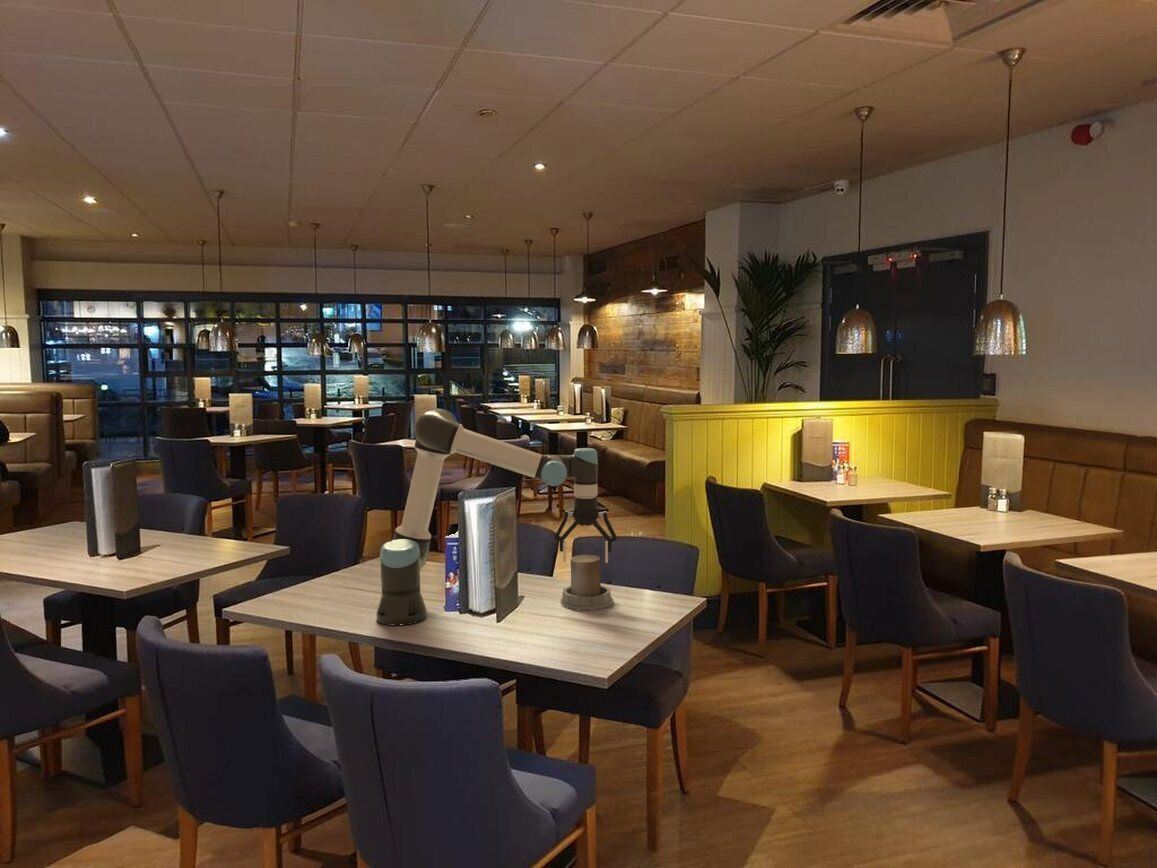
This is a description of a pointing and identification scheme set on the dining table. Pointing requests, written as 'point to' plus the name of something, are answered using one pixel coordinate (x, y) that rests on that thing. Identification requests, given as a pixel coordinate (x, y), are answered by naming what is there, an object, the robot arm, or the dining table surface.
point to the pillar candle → (585, 575)
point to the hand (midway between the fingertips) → (585, 561)
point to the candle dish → (587, 600)
